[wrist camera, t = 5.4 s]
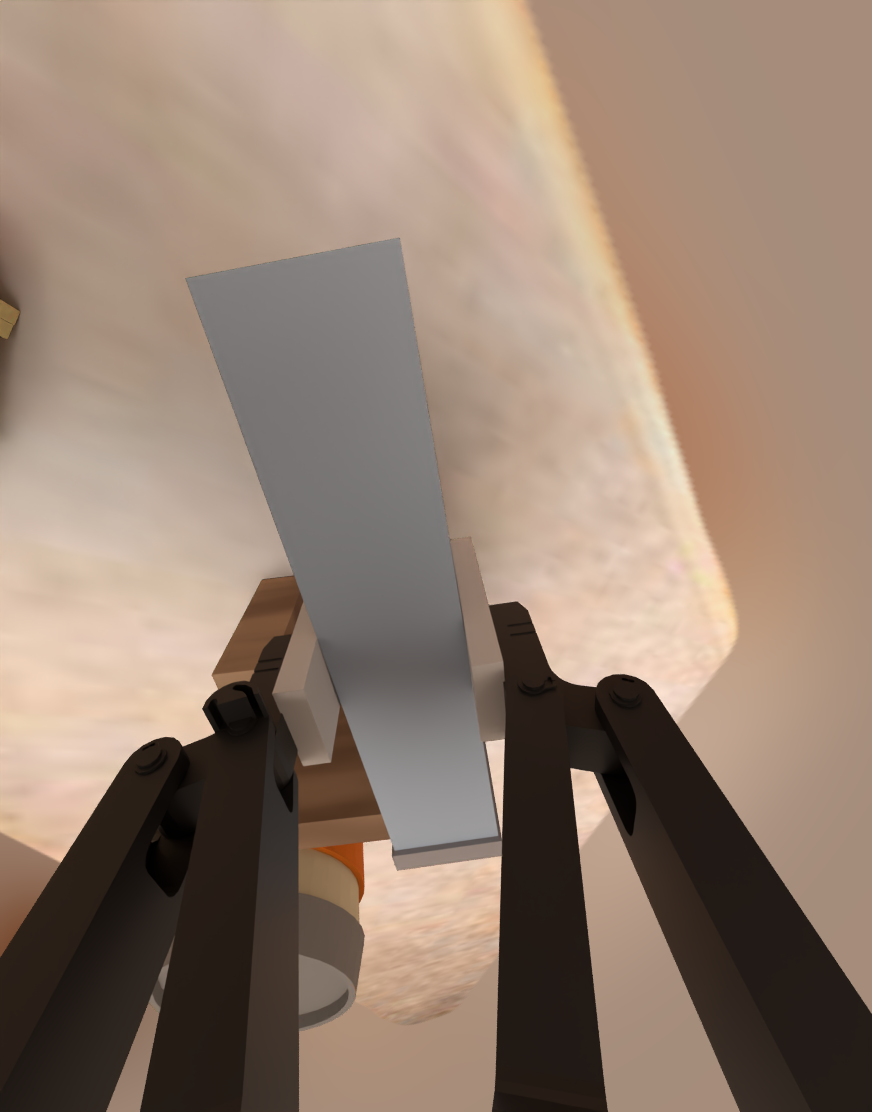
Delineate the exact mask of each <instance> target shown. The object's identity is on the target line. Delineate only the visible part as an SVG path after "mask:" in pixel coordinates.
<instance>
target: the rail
mask: <svg viewBox="0 0 872 1112" xmlns="http://www.w3.org/2000/svg"><path fill="white" fill-rule="evenodd" d="M186 281H187V284H188V287H189V289H190V292H191V295H192V298H193V300H194V303H195V306H196V309H197V311H198V314H199V317H200V320H201V322H202V325H203V328H204V330H205V333H206V336H207V339H208V341H209V344H210V347H211V350H212V352H213V355H214V358H215V361H216V363H217V366H218V369H219V371H220V374H221V377H222V380H223V382H224V385H225V388H226V391H227V393H228V396H229V399H230V402H231V404H232V407H233V410H234V412H235V415H236V418H237V421H238V423H239V426H240V429H241V432H242V434H243V437H244V440H245V443H246V445H247V448H248V451H249V453H250V456H251V459H252V462H253V464H254V467H255V470H256V473H257V475H258V478H259V481H260V484H261V486H262V489H263V492H264V495H265V497H266V500H267V503H268V505H269V508H270V511H271V514H272V516H273V519H274V522H275V525H276V527H277V530H278V533H279V536H280V538H281V541H282V544H283V546H284V549H285V552H286V555H287V557H288V560H289V563H290V566H291V568H292V571H293V574H294V577H295V579H296V582H297V585H298V587H299V590H300V593H301V596H302V598H303V601H304V604H305V607H306V609H307V612H308V615H309V618H310V620H311V623H312V626H313V628H314V631H315V634H316V637H317V639H318V642H319V645H320V648H321V650H322V653H323V656H324V659H325V661H326V664H327V667H328V670H329V672H330V675H331V678H332V680H333V683H334V686H335V689H336V691H337V694H338V697H339V700H340V702H341V705H342V708H343V711H344V713H345V716H346V719H347V721H348V724H349V727H350V730H351V732H352V735H353V738H354V741H355V743H356V746H357V749H358V752H359V754H360V757H361V760H362V762H363V765H364V768H365V771H366V773H367V776H368V779H369V782H370V784H371V787H372V790H373V793H374V795H375V798H376V801H377V803H378V806H379V809H380V812H381V814H382V817H383V820H384V823H385V825H386V828H387V831H388V834H389V836H390V839H391V842H392V858H393V861H394V863H395V866H396V869H397V871H398V870H405V869H412V868H419V867H426V866H434V865H441V864H448V863H455V862H462V861H469V860H476V859H483V858H490V857H497V856H502V838H501V832H500V826H499V820H498V814H497V808H496V803H495V797H494V791H493V785H492V779H491V773H490V767H489V761H488V756H487V750H486V744H485V742H481V738H480V732H479V726H478V720H477V714H476V708H475V702H474V696H473V689H472V682H471V674H470V666H469V658H468V650H467V643H466V636H465V630H464V624H463V618H462V612H461V606H460V600H459V594H458V588H457V582H456V576H455V569H454V563H453V557H452V551H451V545H450V539H449V533H448V527H447V521H446V515H445V509H444V503H443V497H442V491H441V485H440V479H439V473H438V467H437V460H436V454H435V448H434V442H433V436H432V430H431V424H430V418H429V412H428V406H427V400H426V394H425V388H424V382H423V376H422V370H421V364H420V357H419V351H418V345H417V339H416V333H415V327H414V321H413V315H412V309H411V303H410V297H409V291H408V285H407V279H406V273H405V267H404V261H403V255H402V248H401V242H400V238H395V239H390V240H385V241H379V242H374V243H369V244H364V245H358V246H353V247H348V248H343V249H337V250H332V251H327V252H322V253H316V254H311V255H306V256H300V257H295V258H290V259H285V260H279V261H274V262H269V263H264V264H258V265H253V266H248V267H243V268H237V269H232V270H227V271H221V272H216V273H211V274H206V275H200V276H195V277H190V278H186Z"/></svg>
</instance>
